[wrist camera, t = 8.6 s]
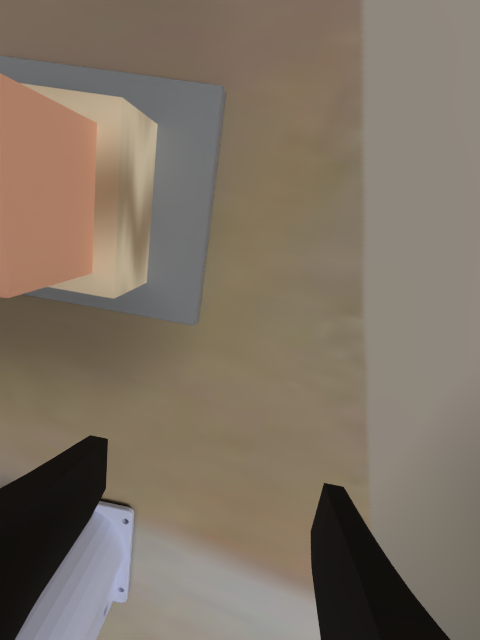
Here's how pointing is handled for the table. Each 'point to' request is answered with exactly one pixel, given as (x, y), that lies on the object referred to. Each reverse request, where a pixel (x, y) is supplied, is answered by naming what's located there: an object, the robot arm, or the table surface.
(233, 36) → the table surface
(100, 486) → the robot arm
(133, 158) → the maple brick
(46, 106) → the terracotta brick
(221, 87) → the base plate
